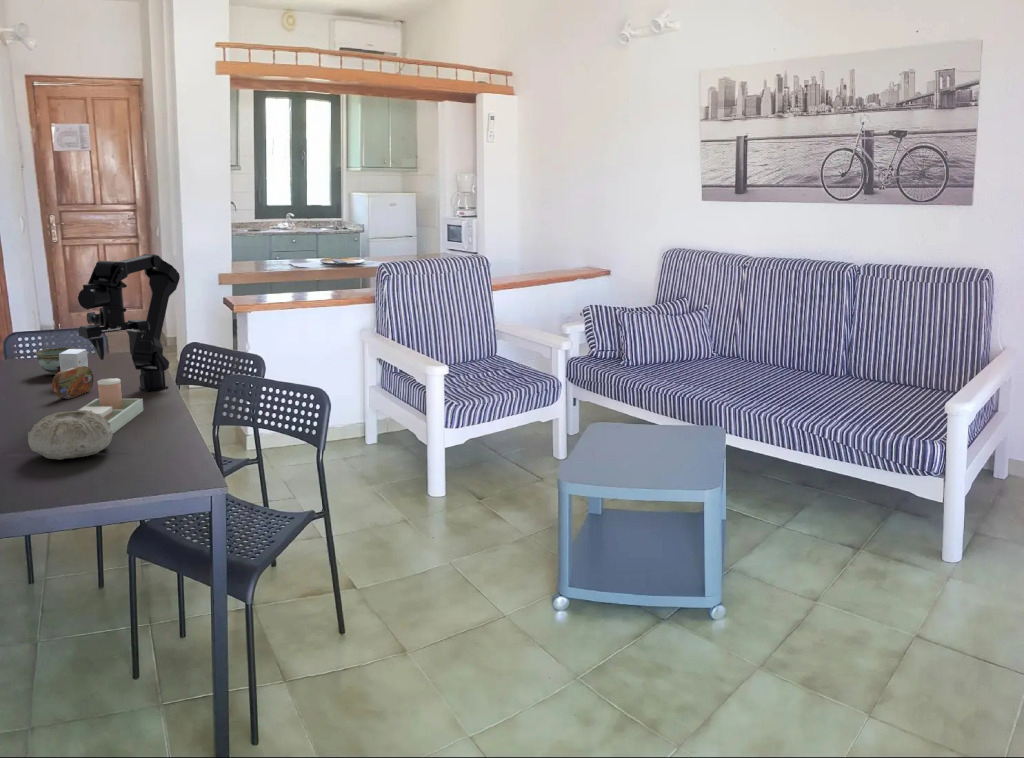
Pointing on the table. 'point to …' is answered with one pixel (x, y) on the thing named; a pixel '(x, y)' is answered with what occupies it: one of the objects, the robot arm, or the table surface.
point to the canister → (110, 393)
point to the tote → (122, 412)
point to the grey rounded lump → (70, 435)
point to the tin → (72, 382)
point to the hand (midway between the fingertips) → (117, 357)
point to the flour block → (101, 411)
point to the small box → (73, 358)
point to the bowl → (50, 359)
